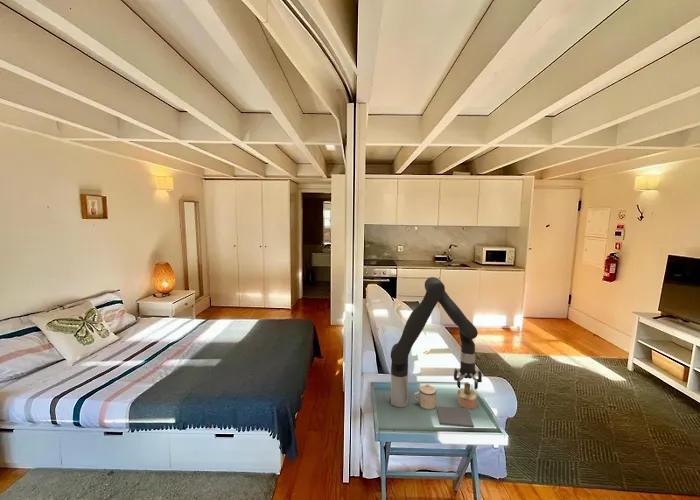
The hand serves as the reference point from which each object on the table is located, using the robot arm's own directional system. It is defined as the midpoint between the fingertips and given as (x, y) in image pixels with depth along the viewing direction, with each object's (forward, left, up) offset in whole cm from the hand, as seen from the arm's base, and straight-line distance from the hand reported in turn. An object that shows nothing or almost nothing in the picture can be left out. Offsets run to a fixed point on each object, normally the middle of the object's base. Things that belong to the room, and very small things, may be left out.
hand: (467, 388), depth 169 cm
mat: (-9, -13, -9) cm, 18 cm away
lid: (0, 0, -4) cm, 4 cm away
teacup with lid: (-23, -4, -9) cm, 25 cm away
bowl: (0, 0, -9) cm, 9 cm away
